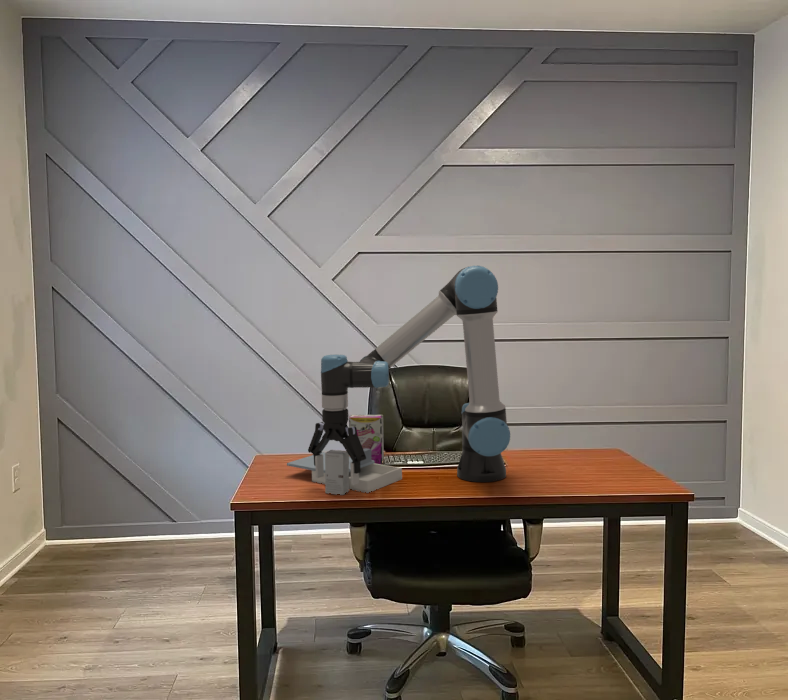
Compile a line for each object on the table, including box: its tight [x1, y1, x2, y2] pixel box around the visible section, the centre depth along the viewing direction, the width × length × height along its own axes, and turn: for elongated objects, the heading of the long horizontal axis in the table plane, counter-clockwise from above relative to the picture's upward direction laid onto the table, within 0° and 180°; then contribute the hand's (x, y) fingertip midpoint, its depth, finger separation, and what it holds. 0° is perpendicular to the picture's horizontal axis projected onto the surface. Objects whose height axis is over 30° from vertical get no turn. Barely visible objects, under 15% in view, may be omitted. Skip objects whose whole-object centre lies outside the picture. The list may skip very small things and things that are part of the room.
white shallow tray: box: [311, 463, 403, 494], centre depth 215 cm, size 22×17×4 cm
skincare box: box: [324, 449, 350, 496], centre depth 202 cm, size 6×4×12 cm
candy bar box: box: [348, 414, 385, 465], centre depth 234 cm, size 11×5×16 cm, turn 84°
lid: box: [286, 448, 375, 473], centre depth 220 cm, size 22×17×5 cm
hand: (337, 480), depth 203 cm, fingers open, 13 cm apart
